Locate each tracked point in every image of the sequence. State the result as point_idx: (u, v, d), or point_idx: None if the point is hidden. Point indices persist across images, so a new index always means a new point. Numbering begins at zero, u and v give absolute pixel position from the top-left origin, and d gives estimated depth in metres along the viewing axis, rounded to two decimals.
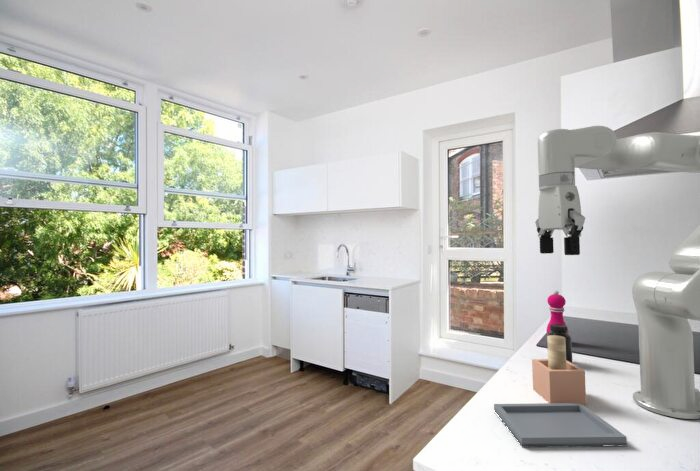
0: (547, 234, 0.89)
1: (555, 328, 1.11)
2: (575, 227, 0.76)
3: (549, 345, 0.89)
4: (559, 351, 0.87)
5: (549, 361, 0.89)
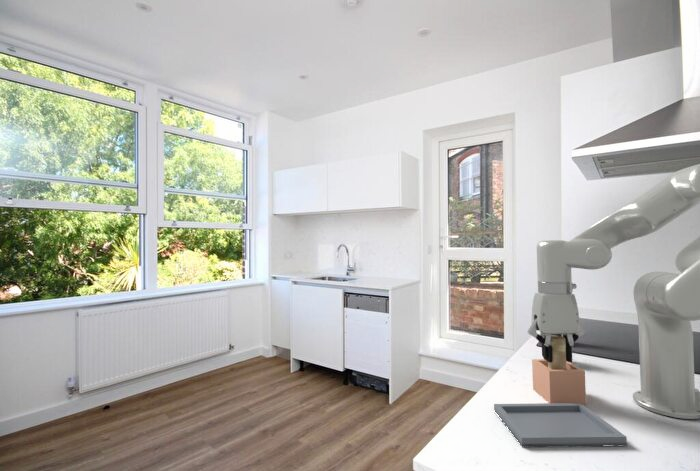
0: None
1: None
2: (577, 336, 0.88)
3: None
4: (559, 351, 0.87)
5: None
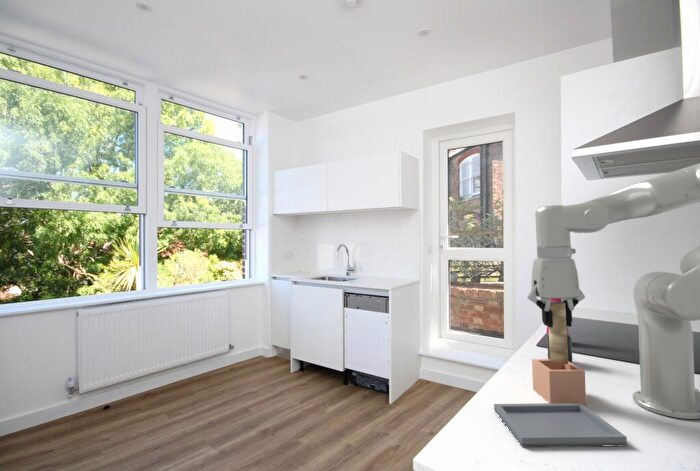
0: None
1: None
2: (577, 301, 0.88)
3: None
4: (559, 315, 0.87)
5: None
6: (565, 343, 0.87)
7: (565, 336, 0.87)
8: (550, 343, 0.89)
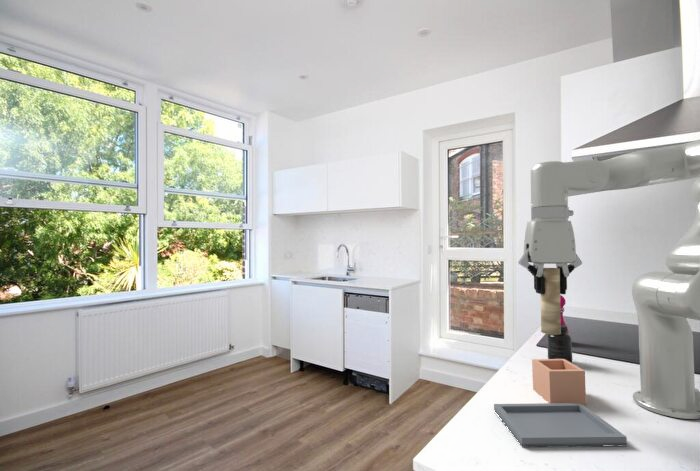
0: None
1: None
2: (573, 267, 0.81)
3: (542, 276, 0.82)
4: (552, 281, 0.80)
5: None
6: (558, 312, 0.80)
7: (558, 304, 0.80)
8: (542, 312, 0.82)
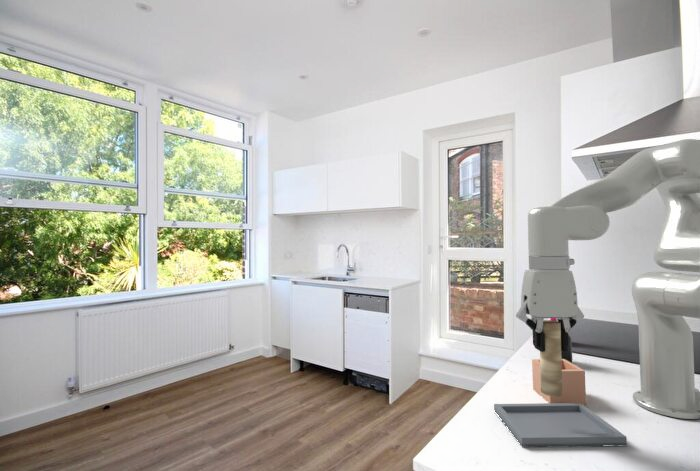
0: None
1: None
2: (575, 321, 0.74)
3: None
4: (552, 338, 0.73)
5: None
6: (559, 371, 0.73)
7: (559, 363, 0.73)
8: (541, 370, 0.75)
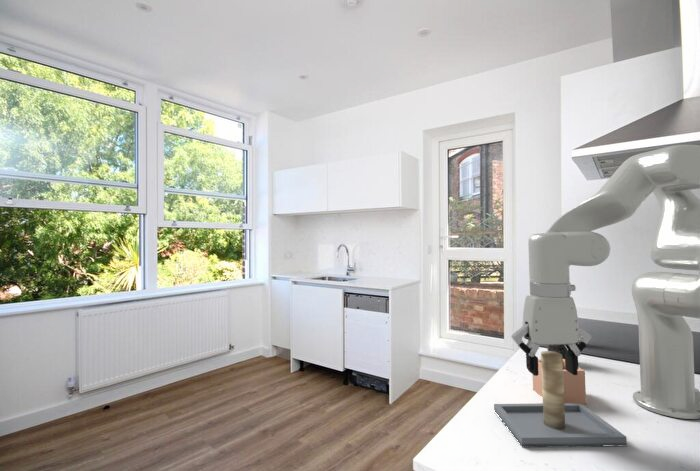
0: None
1: None
2: (585, 345, 0.74)
3: (543, 363, 0.74)
4: (554, 371, 0.73)
5: (543, 382, 0.75)
6: (561, 404, 0.73)
7: (562, 395, 0.73)
8: (544, 402, 0.75)
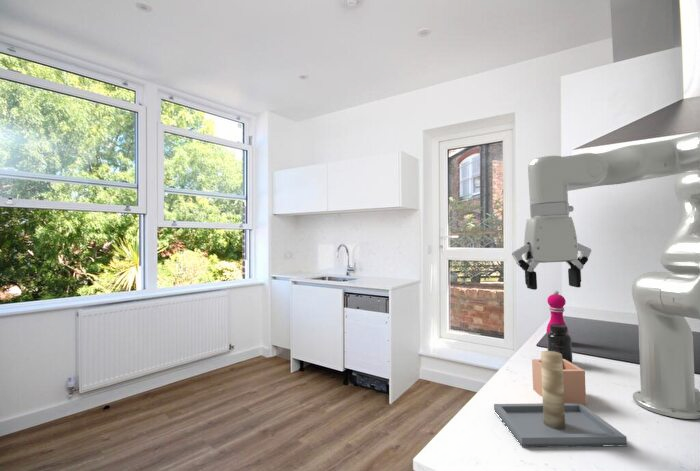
0: None
1: (555, 328, 1.11)
2: (587, 259, 0.78)
3: (543, 363, 0.75)
4: (554, 370, 0.73)
5: (543, 382, 0.75)
6: (561, 403, 0.73)
7: (561, 395, 0.73)
8: (544, 402, 0.75)
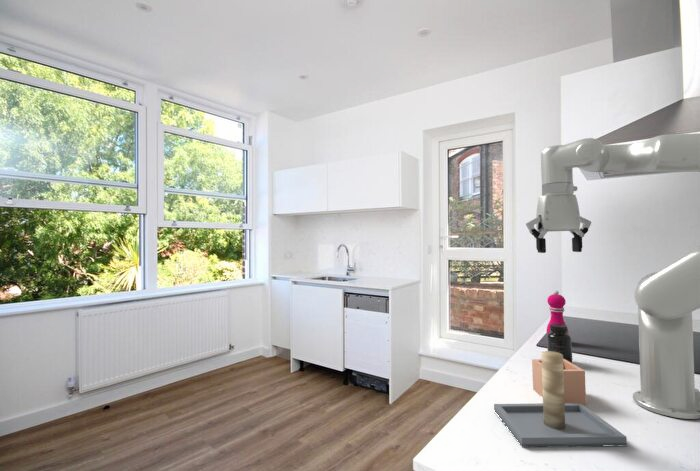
0: None
1: (555, 328, 1.11)
2: (587, 229, 0.96)
3: (543, 363, 0.74)
4: (555, 371, 0.73)
5: (544, 382, 0.74)
6: (562, 404, 0.73)
7: (562, 395, 0.73)
8: (544, 402, 0.75)
